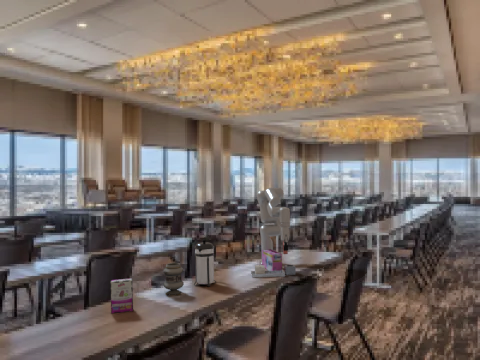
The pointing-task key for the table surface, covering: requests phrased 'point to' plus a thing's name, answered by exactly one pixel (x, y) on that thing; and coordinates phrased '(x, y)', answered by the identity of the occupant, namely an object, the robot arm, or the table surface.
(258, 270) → the crate
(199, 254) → the coffee press
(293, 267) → the square tube with block
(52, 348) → the table surface
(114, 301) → the candy bar box
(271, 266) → the gum box
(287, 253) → the handle peg
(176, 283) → the apothecary jar
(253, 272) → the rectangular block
